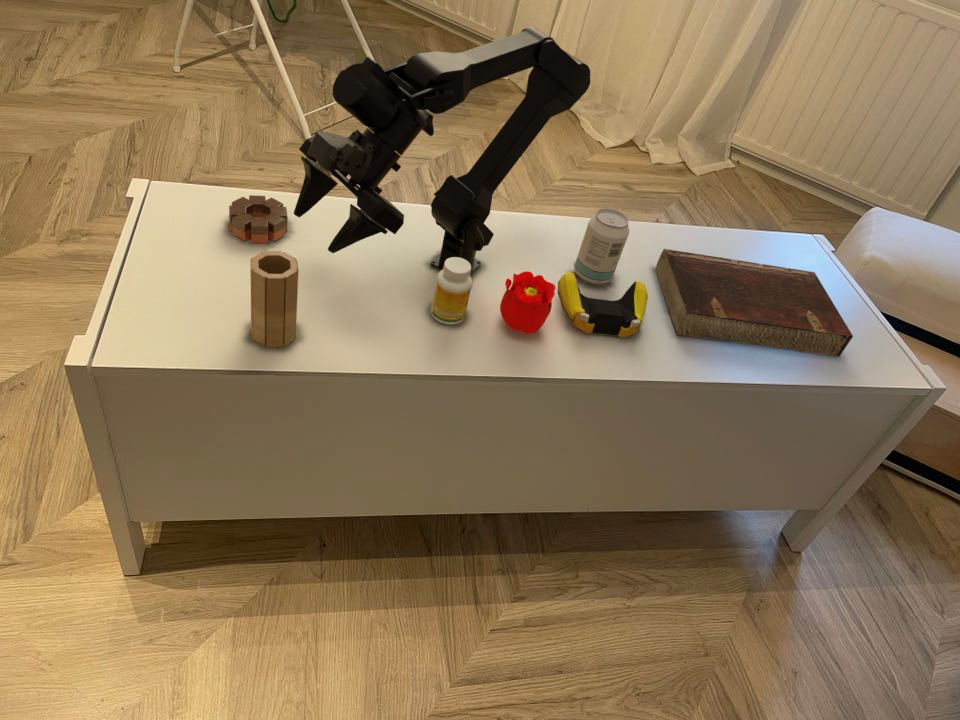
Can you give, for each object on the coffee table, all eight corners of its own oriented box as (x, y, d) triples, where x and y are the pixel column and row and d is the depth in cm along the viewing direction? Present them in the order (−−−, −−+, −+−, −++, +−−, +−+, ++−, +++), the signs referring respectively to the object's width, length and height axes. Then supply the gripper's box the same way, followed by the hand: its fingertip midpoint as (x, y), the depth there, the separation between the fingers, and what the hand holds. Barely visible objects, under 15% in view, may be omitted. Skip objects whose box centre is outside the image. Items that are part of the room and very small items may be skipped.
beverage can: (609, 268, 138) (631, 211, 130) (612, 291, 133) (634, 233, 125) (572, 261, 138) (591, 202, 130) (572, 283, 133) (592, 224, 125)
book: (802, 291, 145) (814, 269, 142) (838, 358, 131) (853, 336, 128) (654, 268, 141) (664, 246, 138) (675, 335, 127) (686, 312, 124)
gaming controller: (551, 293, 129) (558, 332, 122) (560, 267, 126) (567, 305, 118) (637, 304, 132) (649, 343, 124) (648, 278, 128) (660, 317, 121)
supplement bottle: (427, 303, 121) (436, 253, 115) (460, 303, 123) (471, 254, 116) (433, 326, 117) (443, 275, 111) (467, 326, 119) (479, 276, 113)
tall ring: (271, 313, 113) (272, 245, 105) (304, 332, 111) (307, 264, 103) (242, 333, 108) (240, 264, 100) (275, 353, 107) (276, 284, 99)
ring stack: (256, 205, 132) (256, 189, 130) (298, 227, 129) (298, 211, 127) (217, 226, 126) (216, 209, 124) (260, 249, 123) (260, 233, 121)
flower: (488, 313, 122) (498, 272, 117) (529, 306, 126) (541, 266, 120) (511, 345, 117) (523, 305, 112) (554, 337, 121) (567, 297, 116)
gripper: (309, 79, 101) (238, 173, 103) (388, 147, 92) (308, 249, 94) (360, 121, 111) (294, 207, 113) (436, 187, 101) (362, 279, 104)
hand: (312, 233), depth 106 cm, fingers open, 9 cm apart
